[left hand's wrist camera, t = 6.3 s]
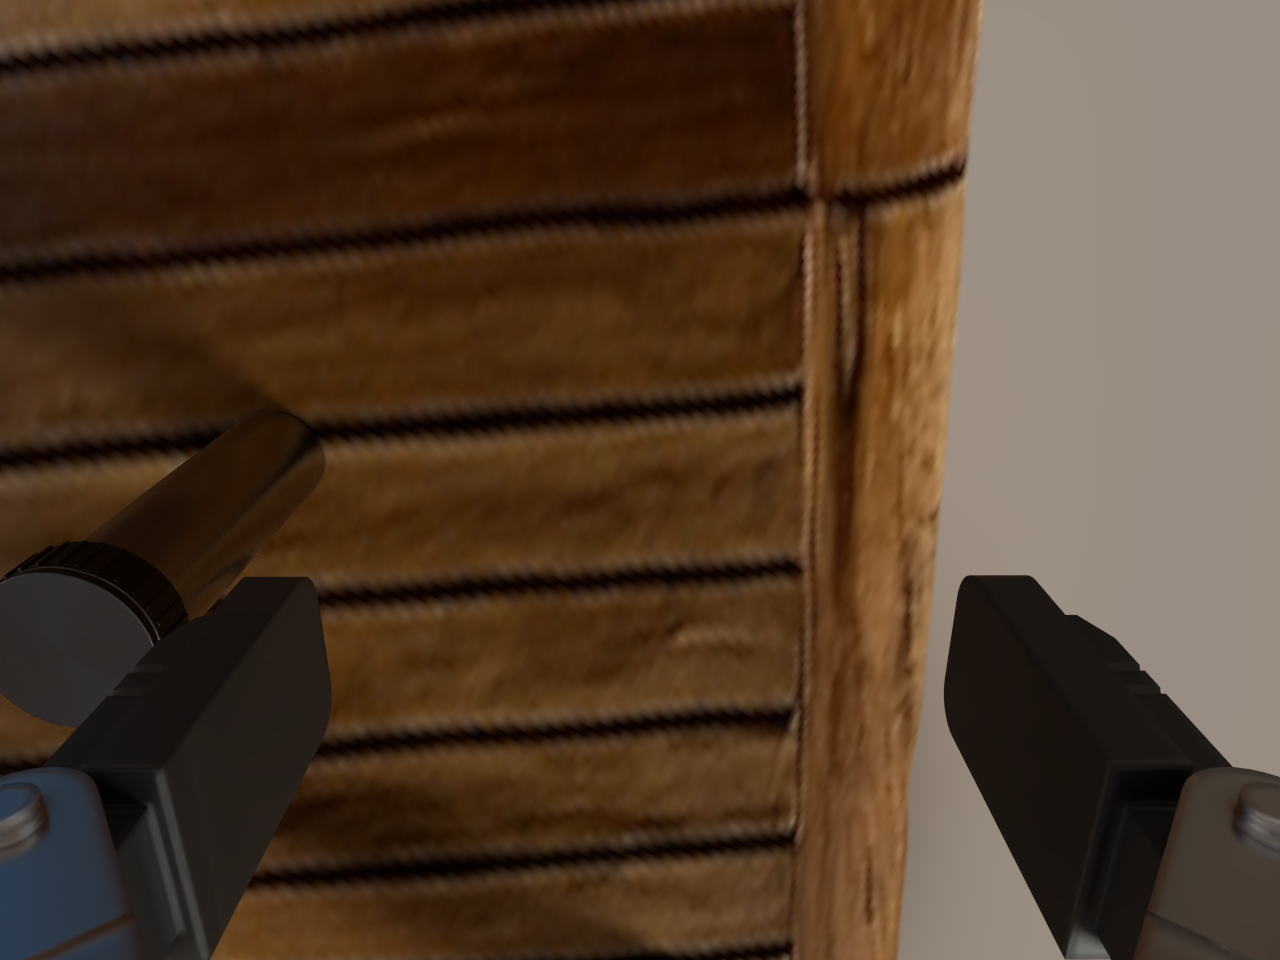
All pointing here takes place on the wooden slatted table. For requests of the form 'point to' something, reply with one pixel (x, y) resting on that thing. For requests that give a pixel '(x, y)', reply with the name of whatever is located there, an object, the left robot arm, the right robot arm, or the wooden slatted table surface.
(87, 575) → the lid
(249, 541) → the jar
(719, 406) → the wooden slatted table surface
